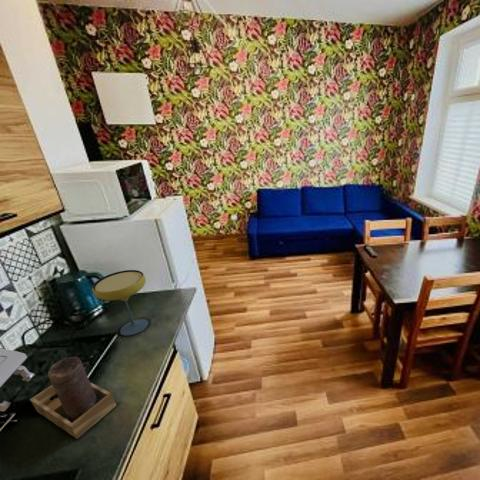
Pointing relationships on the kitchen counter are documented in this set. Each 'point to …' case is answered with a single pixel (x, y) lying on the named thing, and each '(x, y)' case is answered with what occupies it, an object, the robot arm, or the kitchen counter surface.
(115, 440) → the kitchen counter surface
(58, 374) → the candle
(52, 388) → the tray
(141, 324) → the cocktail glass
